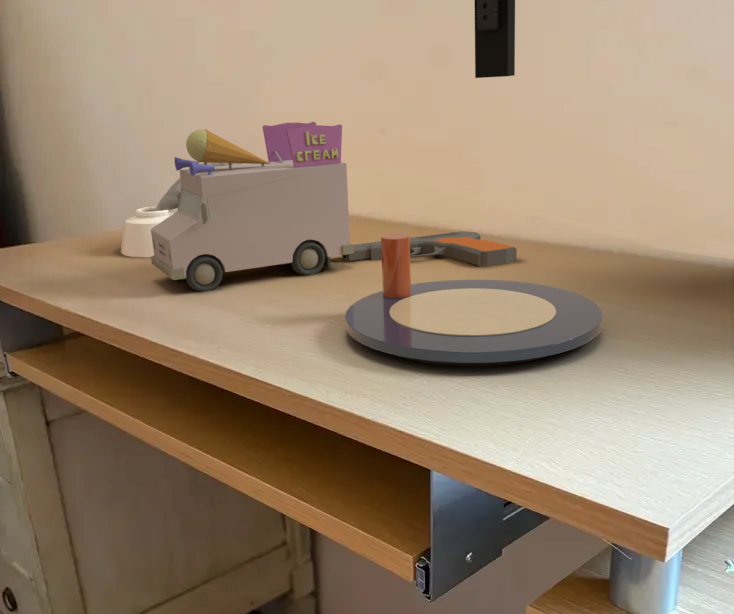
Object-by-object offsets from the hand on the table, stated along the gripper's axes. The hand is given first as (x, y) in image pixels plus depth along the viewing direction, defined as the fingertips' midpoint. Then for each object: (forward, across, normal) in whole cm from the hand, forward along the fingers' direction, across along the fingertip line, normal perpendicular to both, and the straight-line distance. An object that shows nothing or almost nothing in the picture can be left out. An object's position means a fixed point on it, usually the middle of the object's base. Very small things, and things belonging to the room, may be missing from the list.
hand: (494, 76), depth 65 cm
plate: (+18, +7, +1) cm, 19 cm away
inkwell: (+18, -12, -45) cm, 50 cm away
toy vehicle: (+19, -2, -28) cm, 33 cm away
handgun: (+19, -14, -14) cm, 28 cm away
